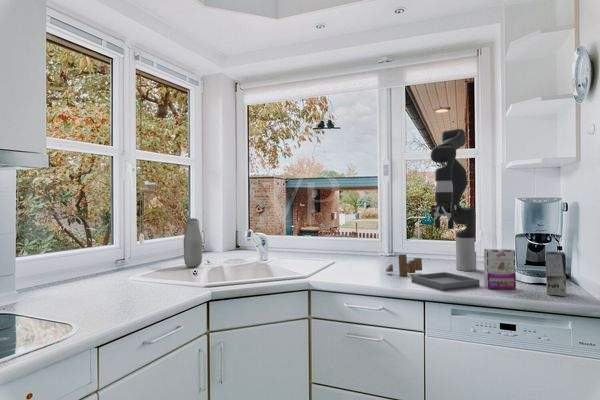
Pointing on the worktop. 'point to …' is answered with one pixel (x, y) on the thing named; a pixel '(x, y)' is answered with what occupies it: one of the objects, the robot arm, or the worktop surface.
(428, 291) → the worktop surface
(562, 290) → the coffee box
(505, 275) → the candy bar box
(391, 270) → the wooden block set
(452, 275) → the tray
